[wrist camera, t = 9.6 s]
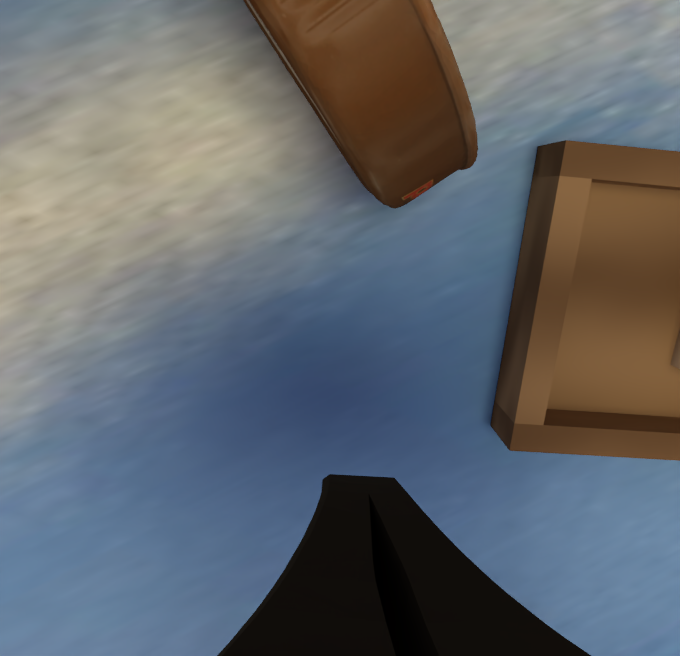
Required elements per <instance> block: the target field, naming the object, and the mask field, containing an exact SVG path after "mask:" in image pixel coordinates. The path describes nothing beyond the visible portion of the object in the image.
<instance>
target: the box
mask: <svg viewBox="0 0 680 656" xmlns="http://www.w3.org/2000/svg"><path fill="white" fill-rule="evenodd" d="M491 427H492V428H493V429H494V431H495V432H496V433H497V435H498V436H499V437H500V439H501V440H502V441H503V442H504V444H505V445H506V446H507V448H508V449H509V450H510V451H526V452H543V453H560V454H578V455H595V456H612V457H629V458H646V459H663V460H680V152H677V151H667V150H657V149H647V148H637V147H627V146H617V145H607V144H596V143H586V142H576V141H561V142H556V143H551V144H547V145H542V146H538V150H537V155H536V161H535V167H534V173H533V179H532V185H531V191H530V196H529V202H528V208H527V214H526V220H525V226H524V232H523V238H522V243H521V249H520V255H519V261H518V267H517V273H516V279H515V284H514V290H513V296H512V302H511V308H510V314H509V320H508V326H507V331H506V337H505V343H504V349H503V355H502V361H501V367H500V372H499V378H498V384H497V390H496V396H495V402H494V408H493V414H492V419H491Z"/></svg>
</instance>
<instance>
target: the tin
mask: <svg viewBox="0 0 680 656" xmlns="http://www.w3.org/2000/svg"><path fill="white" fill-rule="evenodd" d="M243 1H244V2H245V4H246V5H247V7H248V9H249V10H250V12H251V13H252V15H253V17H254V18H255V20H256V21H257V23H258V25H259V26H260V28H261V29H262V31H263V32H264V34H265V36H266V37H267V39H268V40H269V42H270V43H271V45H272V46H273V48H274V50H275V51H276V53H277V54H278V56H279V57H280V59H281V60H282V62H283V64H284V65H285V67H286V68H287V70H288V71H289V73H290V74H291V76H292V77H293V79H294V80H295V82H296V84H297V85H298V87H299V88H300V90H301V91H302V93H303V94H304V96H305V97H306V99H307V100H308V102H309V103H310V105H311V106H312V108H313V110H314V111H315V113H316V114H317V116H318V117H319V119H320V120H321V122H322V124H323V125H324V127H325V128H326V130H327V131H328V133H329V134H330V136H331V137H332V139H333V141H334V142H335V144H336V145H337V147H338V148H339V150H340V151H341V153H342V154H343V156H344V158H345V159H346V161H347V162H348V164H349V165H350V167H351V168H352V170H353V171H354V173H355V174H356V176H357V177H358V178H359V180H360V181H361V183H362V184H363V185H364V187H365V188H366V189H367V190H368V191H369V192H370V193H372V194H373V195H374V196H375V197H376V198H377V199H378V200H379V201H380V202H382V203H383V204H385V205H388V206H389V207H391V208H398V207H401V206H403V205H405V204H407V203H409V202H410V201H412V200H413V199H415V198H416V197H418V196H419V195H421V194H422V193H424V192H425V191H427V190H428V189H430V188H431V187H433V186H434V185H436V184H437V183H438V182H440V181H441V180H443V179H444V178H446V177H447V176H449V175H450V174H452V173H454V172H455V171H457V170H464V169H467V168H470V167H471V166H472V165H473V164H474V162H475V161H476V157H477V150H478V146H477V132H476V125H475V119H474V116H473V112H472V108H471V104H470V101H469V98H468V94H467V91H466V88H465V85H464V82H463V80H462V77H461V74H460V71H459V68H458V66H457V63H456V60H455V57H454V55H453V52H452V49H451V47H450V44H449V42H448V40H447V37H446V35H445V32H444V30H443V28H442V25H441V22H440V20H439V19H438V17H437V15H436V12H435V10H434V7H433V4H432V2H431V0H243Z"/></svg>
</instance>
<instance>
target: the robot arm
mask: <svg viewBox="0 0 680 656" xmlns="http://www.w3.org/2000/svg"><path fill="white" fill-rule="evenodd" d="M217 656H591V655H589V654H588V653H586V652H585V651H583V650H582V649H580V648H579V647H577V646H576V645H575V644H573V643H572V642H570V641H569V640H567V639H566V638H564V637H563V636H562V635H560V634H559V633H557V632H556V631H555V630H553V629H552V628H551V627H549V626H548V625H547V624H545V623H544V622H543V621H541V620H540V619H539V618H537V617H536V616H535V615H534V614H532V613H531V612H530V611H529V610H527V609H526V608H525V607H524V606H522V605H521V604H520V603H519V602H517V601H516V600H515V599H513V598H512V597H511V596H510V595H508V594H507V593H506V592H505V591H504V590H503V589H501V588H500V587H499V586H498V585H497V584H496V583H494V582H493V581H492V580H491V579H490V578H489V577H488V576H487V575H486V574H485V573H484V572H482V571H481V570H480V569H479V568H478V567H477V566H476V565H475V564H474V563H473V562H472V561H471V560H470V559H468V558H467V557H466V556H465V555H464V554H463V553H462V552H461V551H460V550H459V549H458V548H457V547H456V546H455V545H454V544H453V543H452V542H451V541H450V540H449V539H448V538H447V537H446V535H445V534H444V533H443V532H442V531H441V530H440V529H439V528H438V527H437V526H436V525H435V524H434V523H433V522H432V520H431V519H430V518H429V517H428V516H427V515H426V514H425V513H424V512H423V510H422V509H421V508H420V507H419V506H418V505H417V504H416V502H415V501H414V500H413V499H412V498H411V497H410V495H409V494H408V493H407V492H406V491H405V490H404V489H403V487H402V486H401V485H400V484H399V483H398V482H397V481H396V479H395V478H388V477H370V476H351V475H333V474H329V475H328V476H327V477H325V478H324V479H323V482H322V493H321V496H320V500H319V503H318V505H317V508H316V511H315V513H314V515H313V518H312V520H311V522H310V524H309V526H308V528H307V530H306V533H305V535H304V537H303V539H302V541H301V542H300V544H299V546H298V548H297V549H296V551H295V553H294V554H293V556H292V558H291V560H290V561H289V563H288V565H287V566H286V568H285V570H284V571H283V573H282V574H281V576H280V577H279V579H278V580H277V582H276V583H275V585H274V586H273V588H272V589H271V591H270V592H269V593H268V595H267V596H266V598H265V599H264V600H263V602H262V603H261V604H260V606H259V607H258V608H257V610H256V611H255V612H254V613H253V615H252V616H251V617H250V618H249V619H248V621H247V622H246V623H245V624H244V625H243V627H242V628H241V629H240V630H239V631H238V633H237V634H236V635H235V636H234V637H233V639H232V640H231V641H230V642H229V643H228V644H227V646H226V647H225V648H224V649H223V650H222V651H221V652H220V653H219V654H218V655H217Z"/></svg>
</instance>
